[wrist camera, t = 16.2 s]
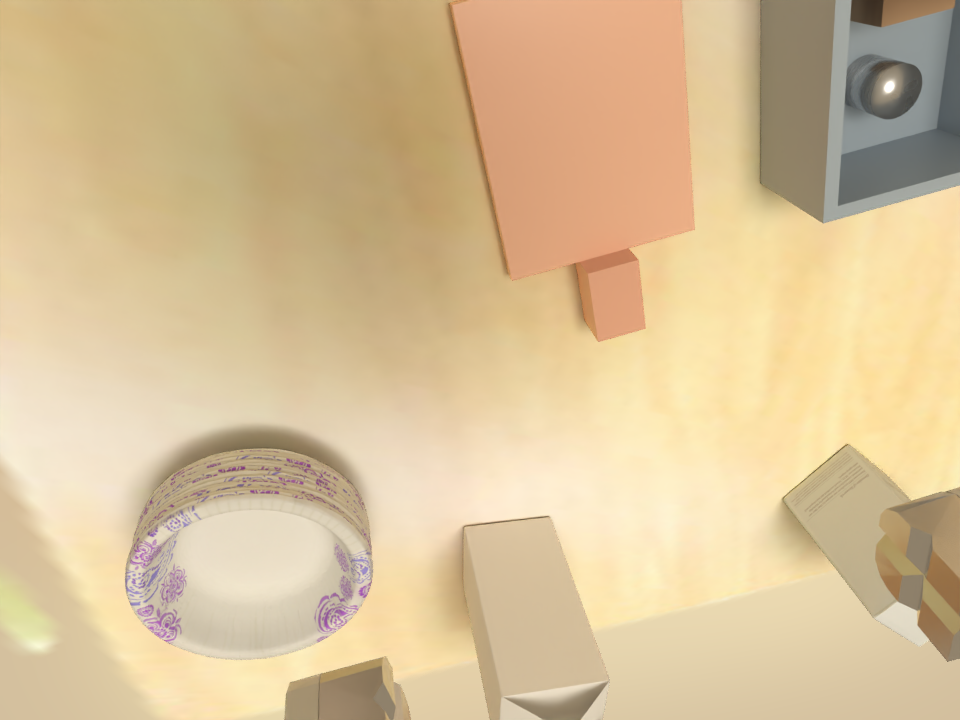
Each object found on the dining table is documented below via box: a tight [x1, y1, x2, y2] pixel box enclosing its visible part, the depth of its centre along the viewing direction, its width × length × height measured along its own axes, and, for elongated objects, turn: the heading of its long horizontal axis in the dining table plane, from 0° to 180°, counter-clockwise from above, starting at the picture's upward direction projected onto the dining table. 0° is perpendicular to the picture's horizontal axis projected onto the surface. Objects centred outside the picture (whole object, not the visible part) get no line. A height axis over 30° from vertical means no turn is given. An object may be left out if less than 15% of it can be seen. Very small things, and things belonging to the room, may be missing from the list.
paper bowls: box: [125, 448, 373, 660], centre depth 49 cm, size 15×15×8 cm
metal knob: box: [845, 54, 922, 120], centre depth 42 cm, size 3×3×3 cm
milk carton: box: [463, 517, 609, 720], centre depth 52 cm, size 7×7×19 cm
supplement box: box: [784, 445, 929, 646], centre depth 58 cm, size 7×7×13 cm
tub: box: [760, 0, 960, 223], centre depth 39 cm, size 16×12×7 cm
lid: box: [449, 0, 695, 342], centre depth 42 cm, size 21×12×3 cm, turn 12°
